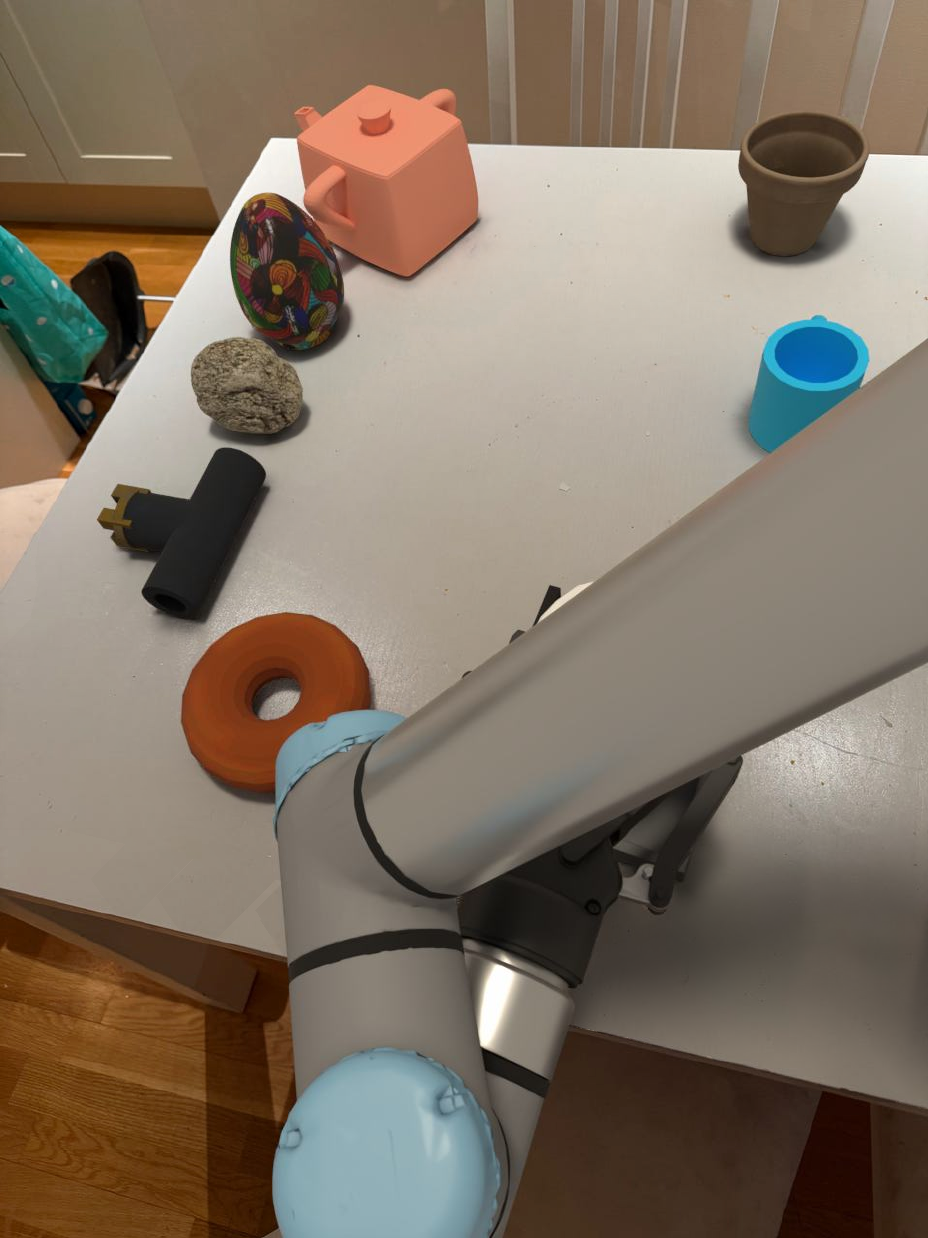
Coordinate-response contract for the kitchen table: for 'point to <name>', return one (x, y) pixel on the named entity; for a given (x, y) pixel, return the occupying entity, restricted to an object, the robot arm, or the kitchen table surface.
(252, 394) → the stone
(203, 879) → the kitchen table surface
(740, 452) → the kitchen table surface
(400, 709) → the kitchen table surface
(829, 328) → the mug
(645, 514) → the kitchen table surface
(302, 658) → the donut
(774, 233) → the flower pot
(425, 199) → the teapot
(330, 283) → the egg
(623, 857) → the tray
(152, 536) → the pipe connector
